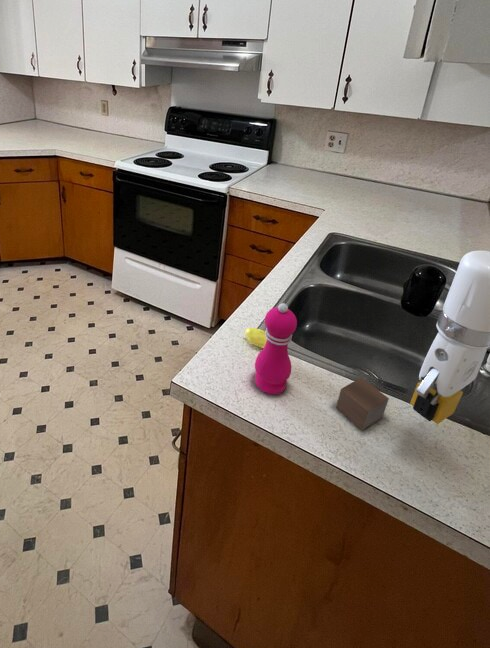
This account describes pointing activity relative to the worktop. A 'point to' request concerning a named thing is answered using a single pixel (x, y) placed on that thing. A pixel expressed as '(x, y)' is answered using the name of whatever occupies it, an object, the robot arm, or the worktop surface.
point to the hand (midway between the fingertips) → (432, 407)
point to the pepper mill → (275, 350)
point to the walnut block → (362, 403)
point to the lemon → (256, 336)
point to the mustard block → (442, 404)
